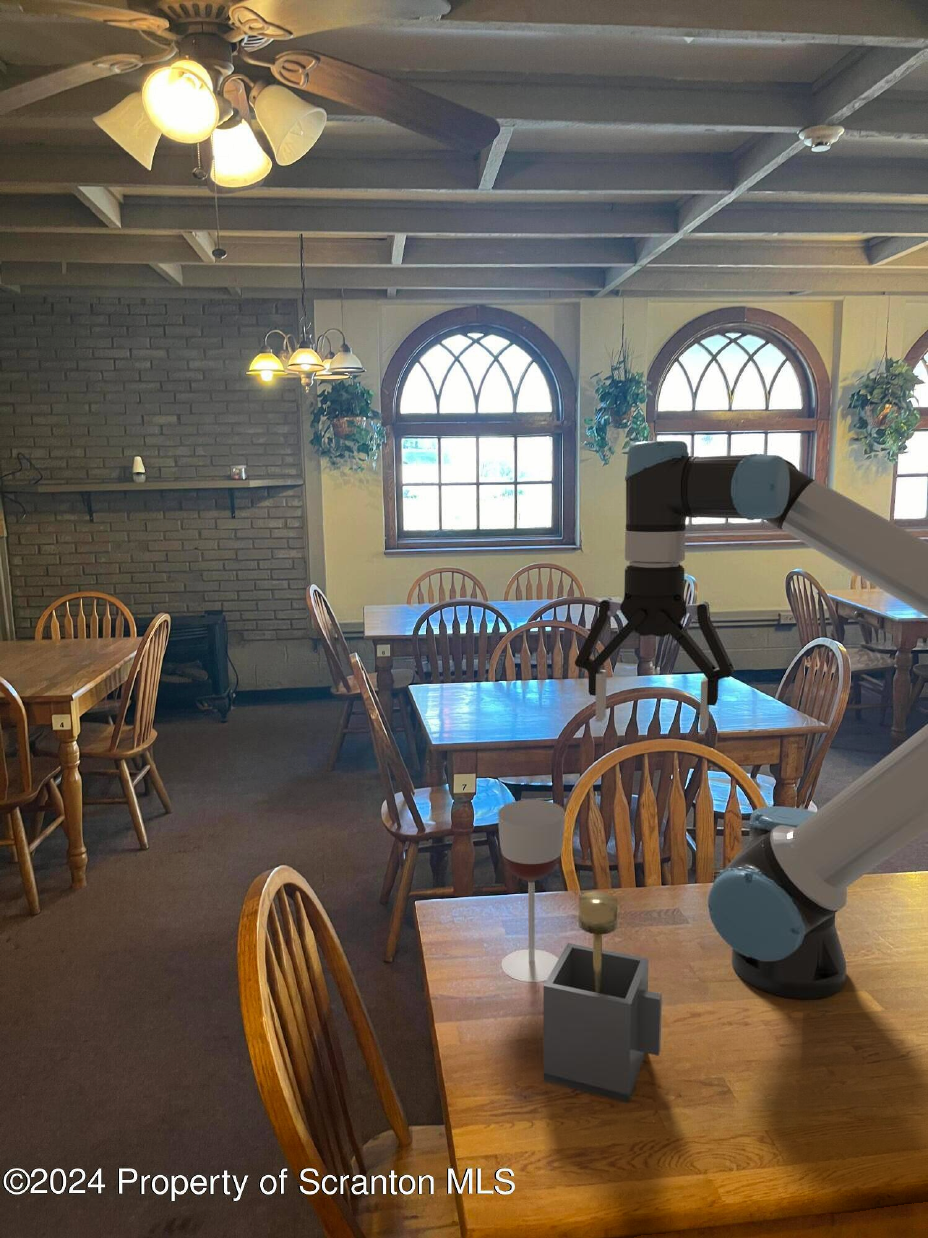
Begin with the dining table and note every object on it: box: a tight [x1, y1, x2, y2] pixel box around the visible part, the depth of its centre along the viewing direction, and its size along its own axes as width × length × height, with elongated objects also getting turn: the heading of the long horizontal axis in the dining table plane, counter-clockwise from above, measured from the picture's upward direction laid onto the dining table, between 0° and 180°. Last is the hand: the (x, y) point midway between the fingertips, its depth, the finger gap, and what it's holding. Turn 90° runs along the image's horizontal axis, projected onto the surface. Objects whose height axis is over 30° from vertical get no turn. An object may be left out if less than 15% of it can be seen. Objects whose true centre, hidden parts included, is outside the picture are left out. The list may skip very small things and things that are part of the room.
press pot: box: [542, 942, 663, 1104], centre depth 104 cm, size 12×10×12 cm
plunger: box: [578, 891, 618, 994], centre depth 104 cm, size 7×7×19 cm
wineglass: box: [497, 799, 566, 983], centre depth 125 cm, size 9×10×23 cm
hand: (651, 724), depth 117 cm, fingers open, 13 cm apart
